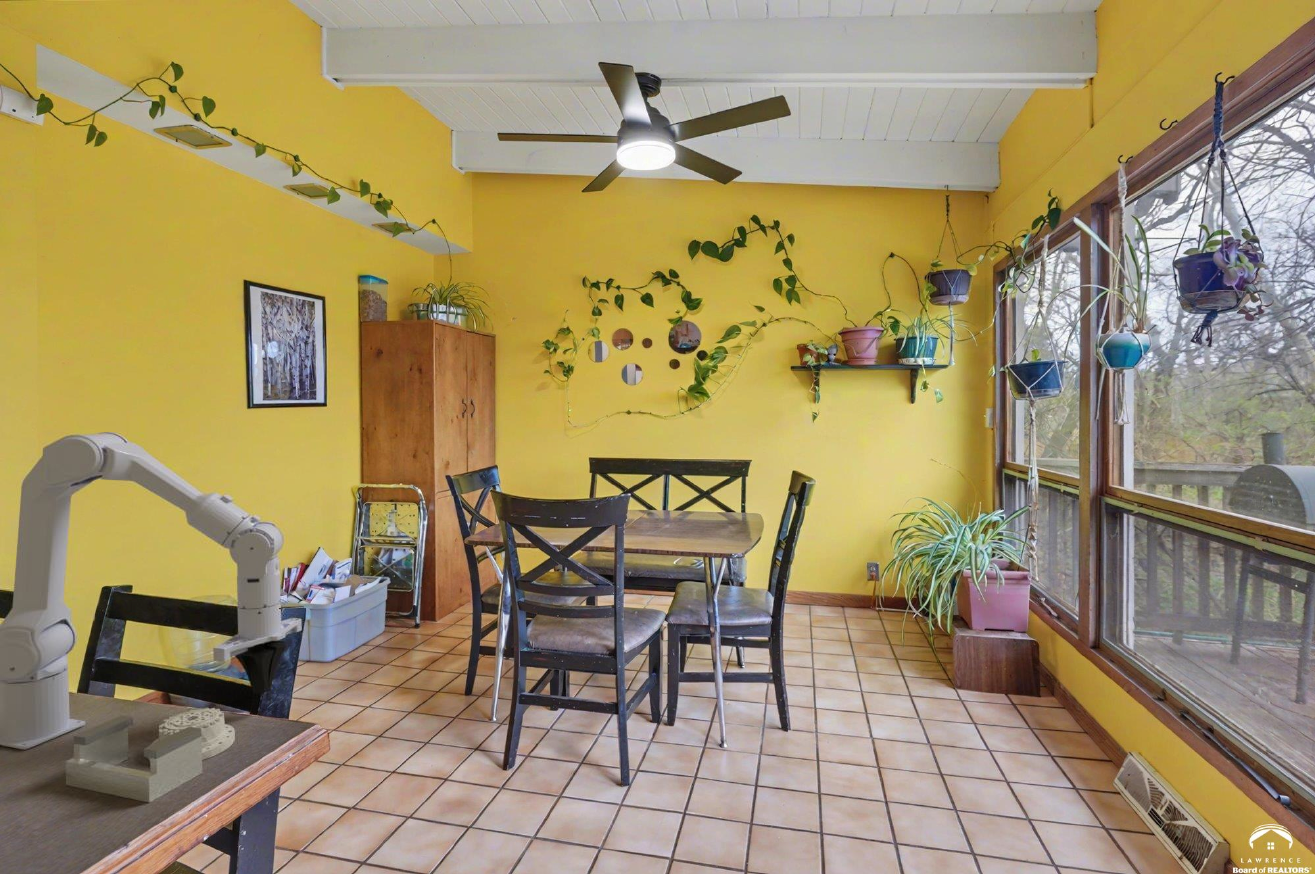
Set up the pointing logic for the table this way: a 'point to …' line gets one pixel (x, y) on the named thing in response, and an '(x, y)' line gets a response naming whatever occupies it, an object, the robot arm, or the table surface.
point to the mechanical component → (211, 725)
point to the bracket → (109, 747)
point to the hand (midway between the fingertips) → (261, 691)
